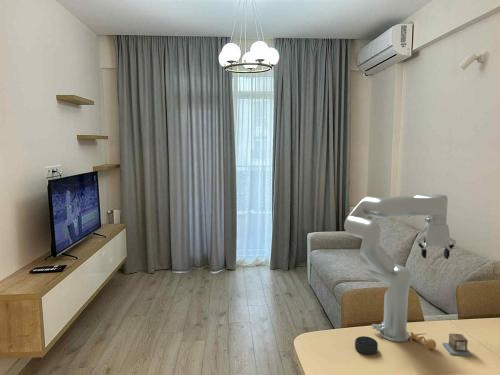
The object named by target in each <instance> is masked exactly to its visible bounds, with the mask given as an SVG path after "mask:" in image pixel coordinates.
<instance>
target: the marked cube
mask: <svg viewBox="0 0 500 375" xmlns="http://www.w3.org/2000/svg"><path fill="white" fill-rule="evenodd" d="M448 343H449V346H450V347H451V348H452V350H453V351H458V352H467V349H468V344H469V343H468V339H467V338H466V337H465V336H464V335H463V334H462V333H449V334H448Z"/></svg>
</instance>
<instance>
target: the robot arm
mask: <svg viewBox="0 0 500 375" xmlns="http://www.w3.org/2000/svg"><path fill="white" fill-rule="evenodd" d="M448 200H449V199H448V196H447V195H446V194H442V193H441V194H440V193H432V194H423V193H422V194H421V193H420V194H416V195H415V196H408V195H407V196H406V195H399V196H390V197H389V196H388V197H377V196H376V197H375V196H370V195H369V196H366V197H364V198H363V199H362V200H361V201H360V202H358V204H357V205H356V206H355V207H354V209H353V210H352V211H351V212H350V213H349V215H348V216H347V217H346V218H345V220H344V224H343V225H344V226H343V227H344V231H345V233H347V234H349V235H350V236H354V237H358V238H360V239H361V244H360V248H359V250H360V252H359V254H358V255H359V256H358V259H359V262H360V265H361V266H362V267H363V269H365V271H367V272H368V273H369V274H370V275H371V276H372V277H373V278H375V279H376V280H378V281H380V282H382V283H385V284H387V285H388V288H387V289H386V290H385V292H384V299H383V300H384V304H383V321H381V323H379V324H376V323H372V324H371V327H372V328H371V329H373V330H376V331H377V332H379V335H381V337H383V339H386V340H389V341H392V342H397V343H401V342H402V343H403V342H407V341H410V338H411V333H409V332H408V331H407V324H408V303H409V301H408V300H409V290H410V286H411V283H412V274H411V273H412V272H410V270H409V269H407V268H406V267H404V266H403V265H400V264H397V263H396V262H395V259H394V257H392V255H391V254H389V252H388V251H387V250H386V249H385V248H384V247H382V246H381V244H380V238H381V234H382V233H381V232H382V230H381V229H382V228H381V227H380V225H379V223H378V222H377V221H375V220H374V219H370V217H372V218H378V219H389V218H397V217H404V216H405V217H406V216H407V217H412V216H413V217H414V216H415V217H416V216H427V218H424V222H426V223H425V227H424V233H423V236H421V237H418V238H416V239H415V242H416V243H417V245H418V246H419V247H420V248H421V252H420V253H421V256H422V258H423V259H427V248H428V247H434V248H435V247H436V248H437V247H439V248H444V249H443V258H444V259H446V260H449V257H450V251H451V250H452V249H453V248H455V245H456V244H457V240H455V239H454V238H452V237H450V228H449V224H447V220H448V219H447V214H448ZM421 241H422V242H423V243H421Z"/></svg>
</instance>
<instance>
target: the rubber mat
mask: <svg viewBox="0 0 500 375" xmlns="http://www.w3.org/2000/svg"><path fill="white" fill-rule="evenodd" d="M442 346H443V347H444V349H445V350H446V351H447V353H448V354H449V355H451V356H467V357H472V356H473V353H471V351H470V350H469V349H468V348H467V352H458V351H453V350H452V348H451V347H450V346H449V342H442Z"/></svg>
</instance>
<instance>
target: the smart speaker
mask: <svg viewBox="0 0 500 375" xmlns="http://www.w3.org/2000/svg"><path fill="white" fill-rule="evenodd" d="M378 346H379V344H378V342H377V340H375V339H374V338H373V337H369V336H358V337H357V338H355V340H354V348H355V350H356V351H357V352H359V353H360V354H362V355H368V356H369V355H371V356H372V355H375V354H376V353H377V352H378V349H379V348H378Z"/></svg>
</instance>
